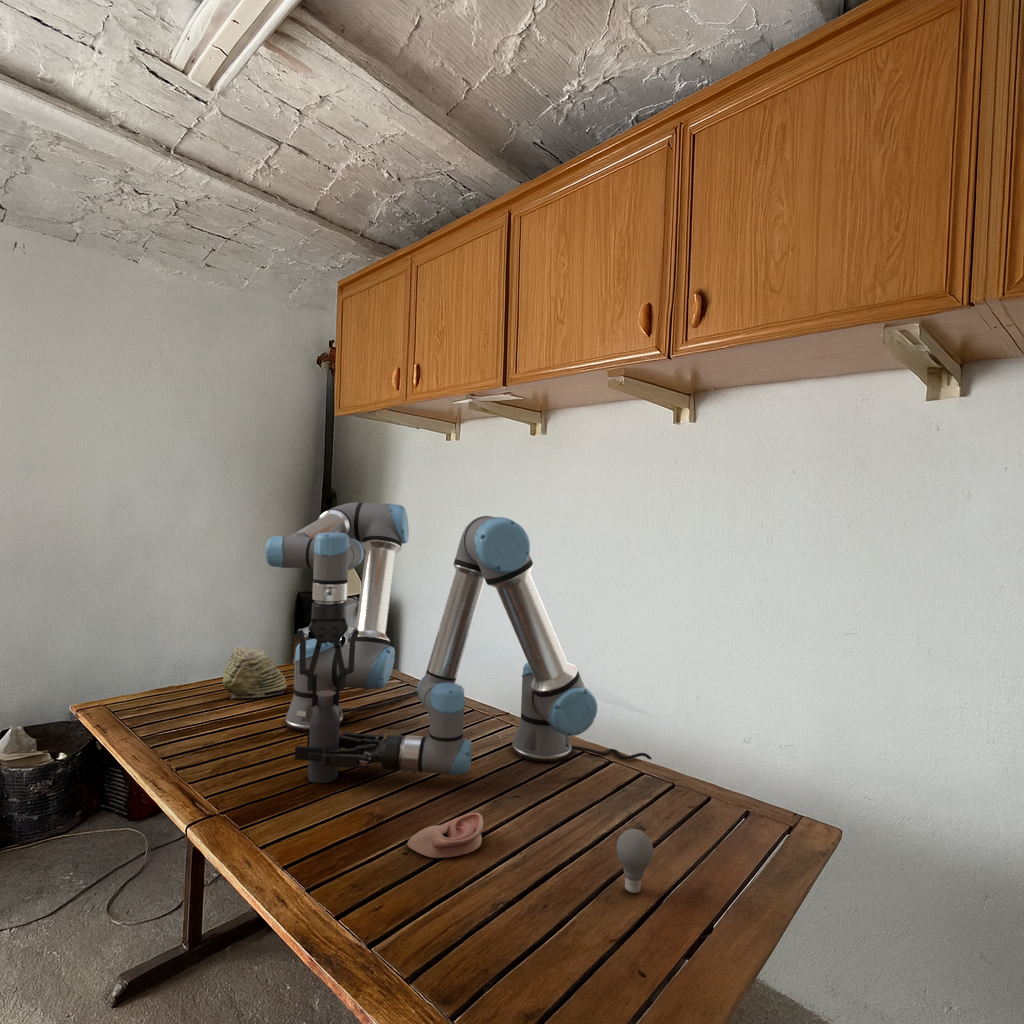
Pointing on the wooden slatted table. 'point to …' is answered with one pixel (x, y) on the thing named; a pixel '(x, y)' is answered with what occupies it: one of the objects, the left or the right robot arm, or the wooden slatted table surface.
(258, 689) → the fossil
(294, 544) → the left robot arm
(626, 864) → the light bulb
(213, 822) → the wooden slatted table surface
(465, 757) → the right robot arm
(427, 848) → the anatomical model
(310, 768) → the bottle
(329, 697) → the cap
